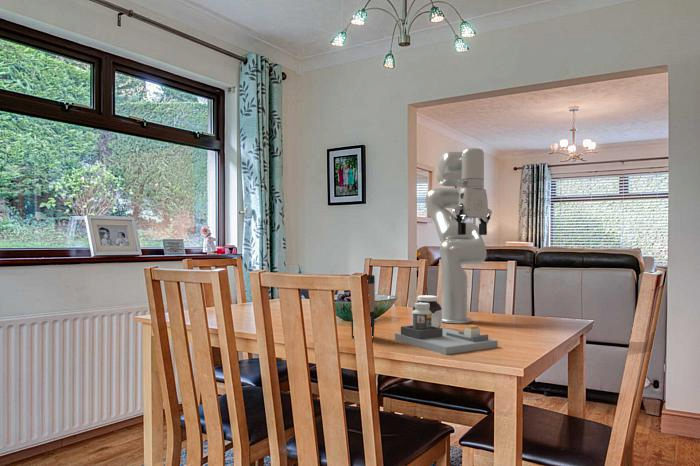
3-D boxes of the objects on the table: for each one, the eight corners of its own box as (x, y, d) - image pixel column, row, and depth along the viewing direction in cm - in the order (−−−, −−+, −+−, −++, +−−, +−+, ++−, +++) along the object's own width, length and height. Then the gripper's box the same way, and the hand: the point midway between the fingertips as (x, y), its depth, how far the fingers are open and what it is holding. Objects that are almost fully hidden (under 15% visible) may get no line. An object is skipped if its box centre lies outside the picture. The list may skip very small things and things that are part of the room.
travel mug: (379, 337, 169) (379, 275, 169) (362, 340, 164) (362, 276, 164) (362, 334, 175) (363, 274, 175) (346, 337, 169) (346, 275, 170)
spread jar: (430, 326, 191) (430, 294, 191) (452, 331, 181) (452, 297, 182) (404, 329, 185) (404, 296, 185) (425, 334, 175) (426, 299, 175)
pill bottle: (431, 337, 159) (431, 304, 159) (412, 336, 160) (412, 304, 160) (431, 334, 165) (431, 302, 165) (413, 333, 166) (413, 302, 166)
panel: (395, 339, 166) (395, 325, 166) (443, 333, 176) (443, 320, 176) (445, 354, 145) (445, 338, 145) (497, 347, 156) (497, 331, 156)
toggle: (463, 337, 158) (463, 325, 158) (472, 336, 160) (472, 324, 160) (471, 339, 155) (471, 327, 155) (479, 338, 157) (479, 326, 157)
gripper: (461, 182, 173) (461, 234, 173) (498, 185, 182) (498, 235, 181) (446, 184, 179) (445, 234, 179) (483, 187, 188) (482, 235, 188)
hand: (472, 234), depth 180 cm, fingers open, 9 cm apart
